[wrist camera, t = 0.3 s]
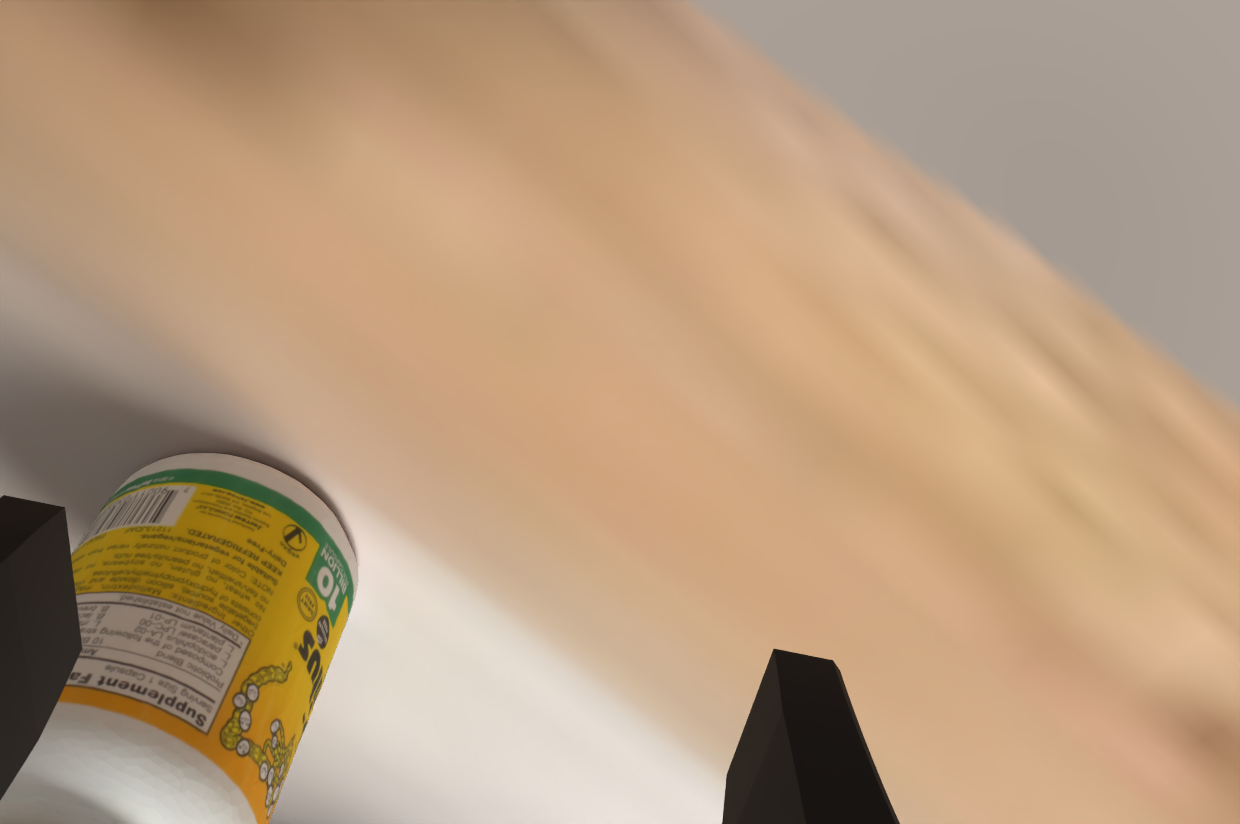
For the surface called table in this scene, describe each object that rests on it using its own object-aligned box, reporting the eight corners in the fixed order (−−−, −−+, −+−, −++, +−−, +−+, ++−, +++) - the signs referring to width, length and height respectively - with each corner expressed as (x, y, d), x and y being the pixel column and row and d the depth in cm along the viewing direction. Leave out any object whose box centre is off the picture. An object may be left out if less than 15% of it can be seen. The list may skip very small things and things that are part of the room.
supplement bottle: (141, 403, 23) (-173, 830, 15) (398, 507, 24) (224, 959, 16) (94, 579, 26) (-187, 1009, 18) (325, 665, 27) (149, 1110, 19)
